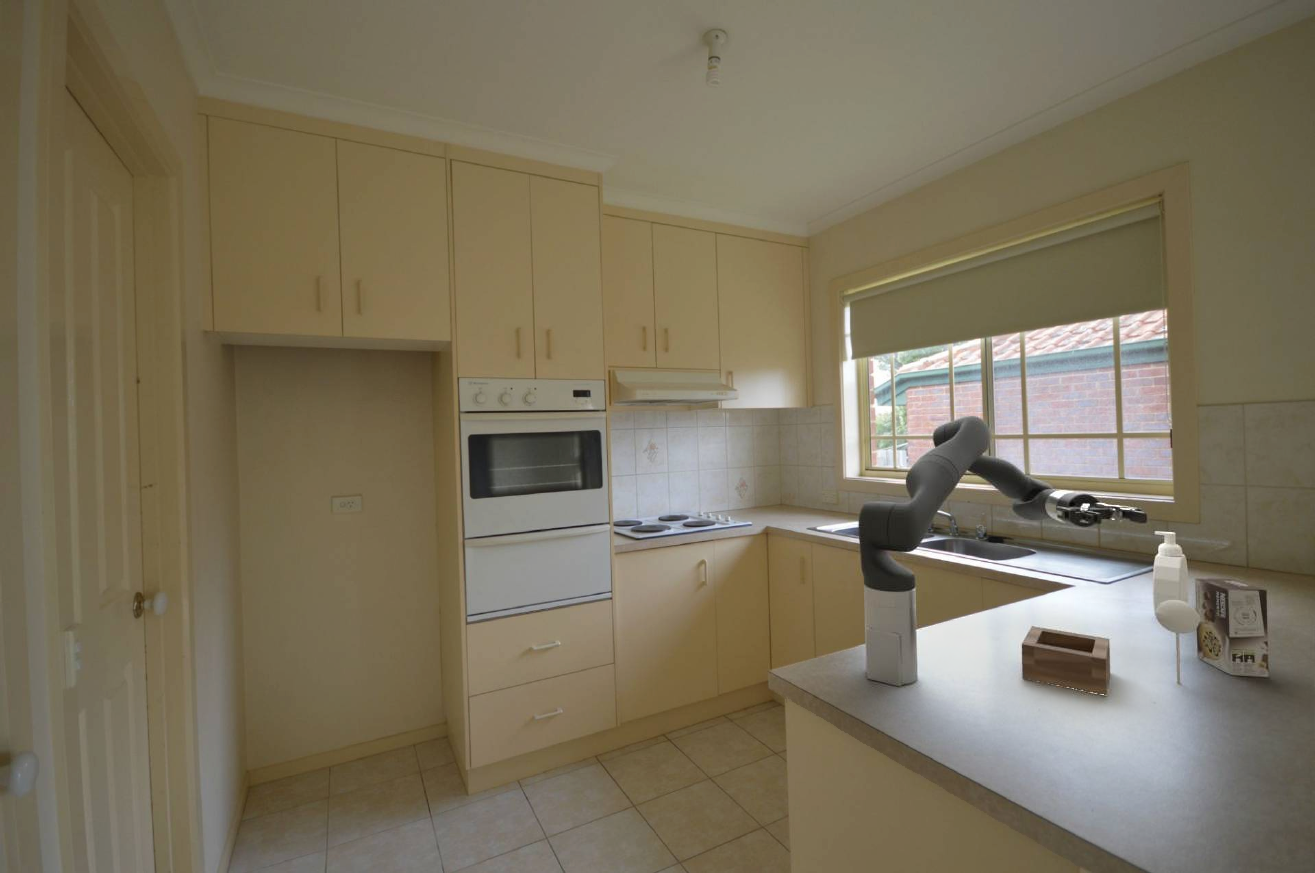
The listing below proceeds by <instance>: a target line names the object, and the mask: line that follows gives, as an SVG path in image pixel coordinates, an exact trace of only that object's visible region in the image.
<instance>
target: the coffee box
mask: <svg viewBox="0 0 1315 873" xmlns="http://www.w3.org/2000/svg"><path fill="white" fill-rule="evenodd" d="M1194 586H1195V587H1194V590H1195V591H1194V592H1195V595H1194V596H1195V610H1196V612H1197V613H1198V614H1199V616H1200V622H1199V624H1198V627H1197V628H1196V644H1197V645H1196V646H1197V650H1196V651H1197V652H1196V653H1197V659H1199V660H1201V661H1203V662H1205V663H1206V664H1209V665H1211V666H1213V667H1215V668H1216V669H1218V670H1221V671H1222V672H1223V673H1226V674H1228V675H1230V676H1240V677H1241V676H1242V677H1256V678H1257V677H1259V678H1269V673H1270V672H1269V644H1268V642H1269V639H1268V638H1269V636H1268V633H1269V632H1268V596H1267V595H1268V593H1267V592H1268V590H1267V589H1264V588H1261V587H1257V586H1254V585H1251V584H1248V583H1245V582H1242V581H1239V580H1235V579H1233V578H1194Z"/></svg>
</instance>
